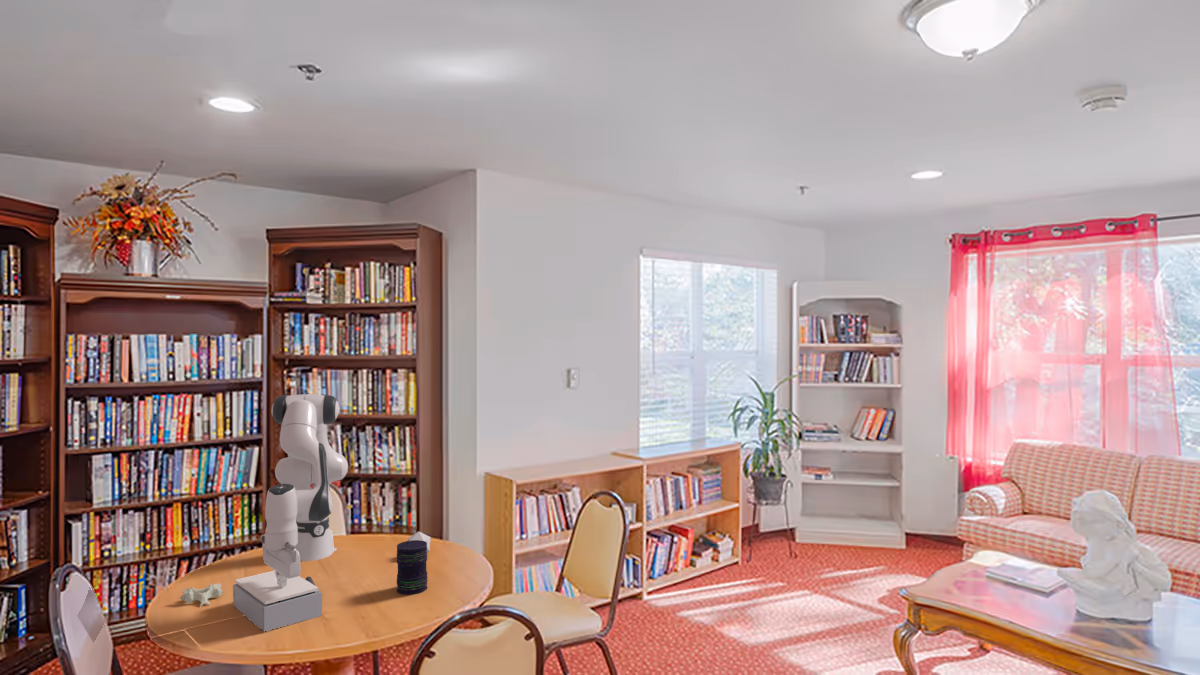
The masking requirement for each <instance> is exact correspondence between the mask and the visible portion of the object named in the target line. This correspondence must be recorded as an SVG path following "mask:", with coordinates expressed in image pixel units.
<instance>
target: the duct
mask: <svg viewBox="0 0 1200 675" xmlns="http://www.w3.org/2000/svg"><path fill="white" fill-rule="evenodd" d="M232 594H233V595H232V597H233V598H232V601H233V602H232V605H233V607H234V608H236V609H237V611H239V612H241V613H242V615H245V616H246V617H247V618H248V619H250V620H251V621H252V622H253V623H254V624H256V625H257V626H258V627H259V628H260V629H262V630H263V631H264V632H265V631H269V630H272V629H275V630H277V629H276V628H279V629H281V628H280V627H282V628H284V627H283V626H285V627H288V626H287V625H289V626H292V625H295V624H298V622H299V623H302V622H305V621H308V620H312V619H314V618H315V617H316V618H320V617H322V616H323V608H322V607H323V604H322V603H323V596H322V595H323V594H322V591H320V590H318V591H314V592H311V593H307V594H303V595H300V596H296V597H292V598H289V599H285V600H282V601H280V602H279V601H278V602H274V603H270V604H266V605H265V604H264V603H262V602H261V601H260V600H258V599H257V598H256V597H254V596H253V595H252V594H250V593H249V592H248V591H246V590H245V589H244V588H242V587H241V586H239V585H238V584H237V583H235V584H233V585H232ZM246 617H245V618H246ZM247 618H246V619H247ZM248 619H247V620H248ZM304 620H305V621H304ZM251 621H250V622H251ZM301 621H302V622H301ZM252 622H251V623H252ZM253 623H252V624H253ZM294 623H295V624H294ZM254 624H253V625H254ZM291 624H292V625H291ZM256 625H255V626H256ZM257 626H256V627H257ZM258 627H257V628H258ZM259 628H258V629H259ZM260 629H259V630H260ZM262 630H261V631H262ZM263 631H262V632H263ZM272 631H273V630H272ZM264 632H263V633H264ZM269 632H270V631H269ZM265 633H266V632H265Z"/></svg>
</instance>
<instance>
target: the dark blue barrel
mask: <svg viewBox="0 0 1200 675" xmlns="http://www.w3.org/2000/svg"><path fill="white" fill-rule="evenodd" d="M427 561H428V552H427V542H425V541H420V540H412V541H408V540H406V541H402V542H400V543H398V544H396V563H397V575H396V588H397V589H396V592H397V593H398V594H399V595H402V596H403V595H405V596H410V595H411V596H413V595H419V594H421V593H424V592H425V591H427V589H428V571H427Z"/></svg>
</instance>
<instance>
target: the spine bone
mask: <svg viewBox="0 0 1200 675" xmlns="http://www.w3.org/2000/svg"><path fill="white" fill-rule="evenodd" d="M222 593H224V591H223V590H222V584H221V583H214V584H213V583H209V585H208V586H207V587H203V588H199V589H197V588H194V587H189V588H185V589H183V590H182V595H180V597H179V600H181V601H184V602H185V603H186V604H190V603H192V602H195V601H199V602H200V604H199V607H200V606H203V605H204V604H206V605H207V606H210V605H211V603H210V601H209V599H212V598H216V597H217V598H218V597H221V596H222ZM209 604H210V605H209Z"/></svg>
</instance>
